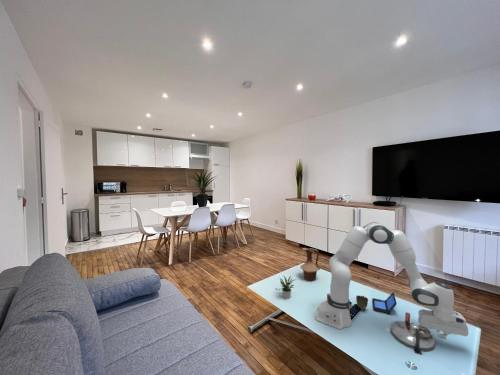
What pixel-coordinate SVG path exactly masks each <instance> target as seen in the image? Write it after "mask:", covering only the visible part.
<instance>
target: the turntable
mask: <svg viewBox="0 0 500 375" xmlns="http://www.w3.org/2000/svg"><path fill="white" fill-rule="evenodd" d="M404 315H405V317H404V320H405V321H404V320H398V321H397V320H396V321H393V322H392V323H391V324H390V332H391V331H392V333H393V334H394V336H395V337H396V338H398V339H399V340H400V341H402V342H403V343H405V344H407V345H409V346H412V347H415V348H416V334H415V330H414V329H413V328H412V324H414V323H412V322H411V313H410V312H407V311H406V312H405V314H404ZM434 343H435V338H434V337H433V335H432V334H431V339H429V340H425V339H422V338H420V349H431V348H433V347H434Z"/></svg>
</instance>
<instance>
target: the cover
mask: <svg viewBox="0 0 500 375" xmlns="http://www.w3.org/2000/svg"><path fill="white" fill-rule="evenodd" d="M418 326H419V330H420V338H422V339H425V340H429V339H431V335H432V333H431V331H430V328H426V327H422V326H421V325H420V324H418Z"/></svg>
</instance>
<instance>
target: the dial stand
mask: <svg viewBox="0 0 500 375" xmlns="http://www.w3.org/2000/svg"><path fill="white" fill-rule="evenodd" d="M412 328H413V329H414V330H415V334H416V349H414V348H413V349H412V350H413V352H414V354H418V355H423V353H422V352H423V351H421V350H420V330H419V324H416V323H413V324H412Z"/></svg>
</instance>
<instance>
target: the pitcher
mask: <svg viewBox="0 0 500 375" xmlns="http://www.w3.org/2000/svg"><path fill="white" fill-rule="evenodd" d="M301 250H302V251H304V252H306V261H305V262H304V263H302V264H301V265H300V269H301V270H302V272H303V279H304V280H305V281H308V282H314V281H316V280H317V273H318V271H320V270H321V268H320V266H319V264H318V261H319V256H320V252H319V250H317V249H316V248H315V249H314V248H311V247H310V248H307V247H303V248H301ZM314 252H316V258H315V263H314V261H313V257H312V255H313V254H314Z"/></svg>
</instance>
